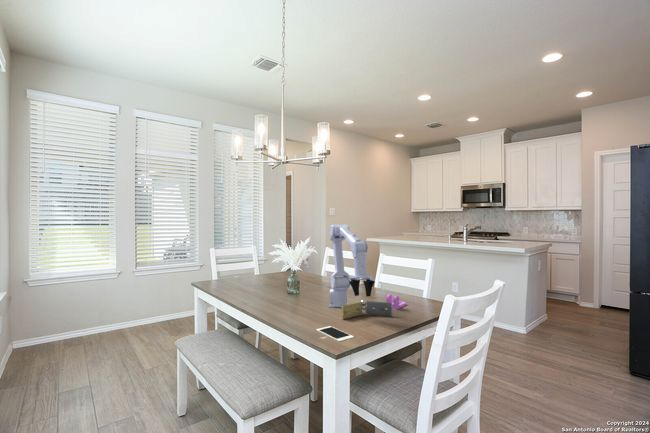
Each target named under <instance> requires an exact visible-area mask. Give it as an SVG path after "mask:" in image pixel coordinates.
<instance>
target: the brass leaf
mask: <svg viewBox="0 0 650 433" xmlns="http://www.w3.org/2000/svg"><path fill="white" fill-rule="evenodd" d="M362 310H366V311H367V305H365V306H362V302H361V300H360V301H356V302H351V303H349V304H346V305H342V307H341V319H342V320H346V319H350V318H353V317H357V316H363V315H362Z"/></svg>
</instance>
